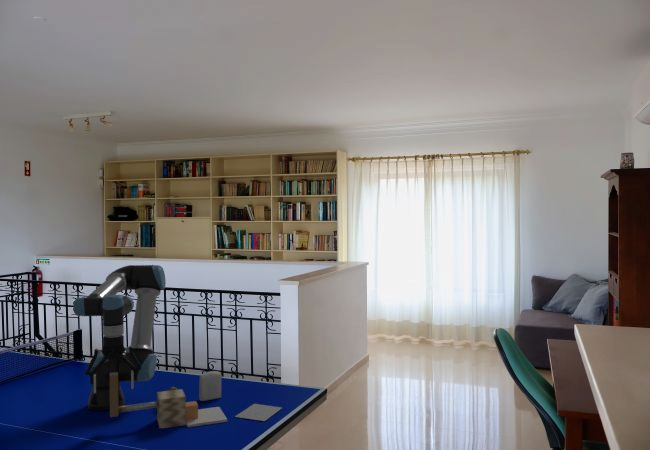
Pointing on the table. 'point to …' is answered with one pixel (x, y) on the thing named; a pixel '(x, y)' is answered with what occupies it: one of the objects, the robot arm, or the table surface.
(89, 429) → the table surface
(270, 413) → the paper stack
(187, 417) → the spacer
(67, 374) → the table surface
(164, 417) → the bearing block
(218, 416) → the mat
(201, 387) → the photo printer
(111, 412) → the handled brown block
